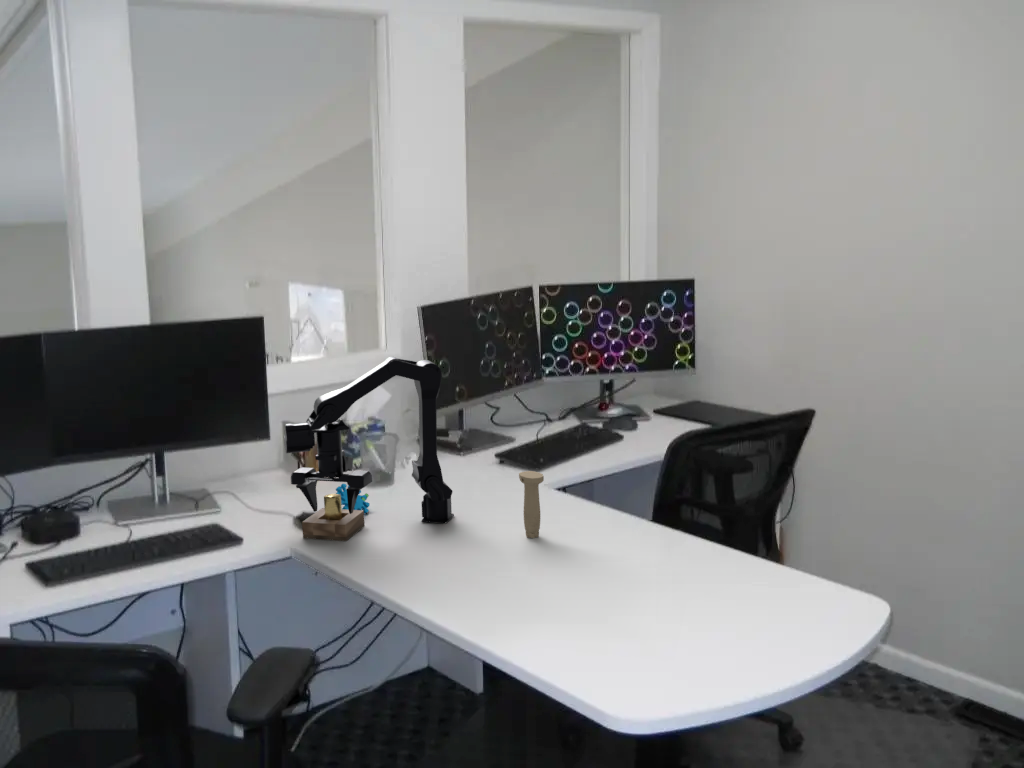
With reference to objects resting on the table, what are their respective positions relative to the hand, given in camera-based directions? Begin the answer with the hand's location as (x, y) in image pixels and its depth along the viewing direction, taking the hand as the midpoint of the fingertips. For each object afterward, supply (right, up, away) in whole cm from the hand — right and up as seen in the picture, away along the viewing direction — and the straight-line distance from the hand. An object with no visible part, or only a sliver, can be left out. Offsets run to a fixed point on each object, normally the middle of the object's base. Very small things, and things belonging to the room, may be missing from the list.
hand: (333, 512), depth 239 cm
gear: (+3, -3, +15) cm, 15 cm away
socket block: (0, -5, +1) cm, 5 cm away
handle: (+48, -5, -5) cm, 48 cm away
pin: (0, -4, +1) cm, 4 cm away
